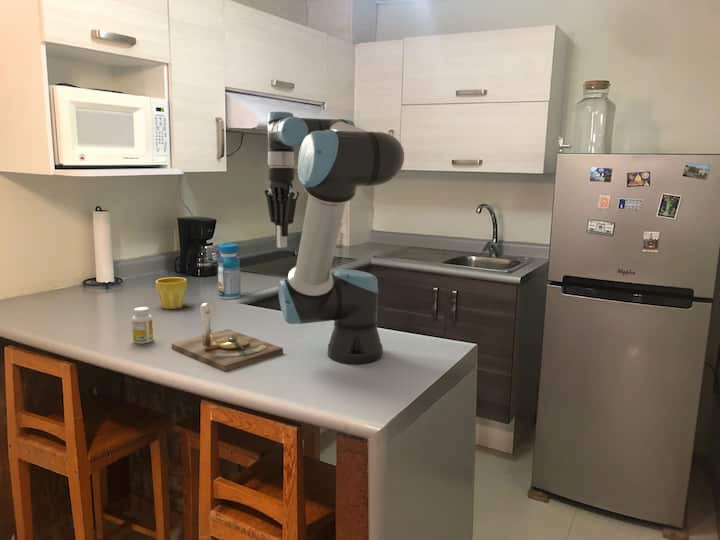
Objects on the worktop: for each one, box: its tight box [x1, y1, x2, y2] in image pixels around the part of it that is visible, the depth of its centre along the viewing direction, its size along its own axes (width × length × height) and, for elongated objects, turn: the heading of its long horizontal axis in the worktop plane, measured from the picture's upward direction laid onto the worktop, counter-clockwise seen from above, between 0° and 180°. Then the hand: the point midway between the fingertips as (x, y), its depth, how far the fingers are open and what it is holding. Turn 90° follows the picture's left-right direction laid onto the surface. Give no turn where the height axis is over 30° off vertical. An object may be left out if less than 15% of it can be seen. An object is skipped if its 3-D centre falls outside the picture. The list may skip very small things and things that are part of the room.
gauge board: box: [171, 328, 284, 372], centre depth 161 cm, size 25×19×2 cm
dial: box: [199, 302, 249, 351], centre depth 158 cm, size 13×13×13 cm
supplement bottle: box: [131, 306, 154, 344], centre depth 167 cm, size 5×5×10 cm
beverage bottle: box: [217, 243, 242, 300], centre depth 219 cm, size 8×8×20 cm
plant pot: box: [155, 276, 188, 310], centre depth 205 cm, size 10×10×10 cm
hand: (282, 246), depth 174 cm, fingers closed
